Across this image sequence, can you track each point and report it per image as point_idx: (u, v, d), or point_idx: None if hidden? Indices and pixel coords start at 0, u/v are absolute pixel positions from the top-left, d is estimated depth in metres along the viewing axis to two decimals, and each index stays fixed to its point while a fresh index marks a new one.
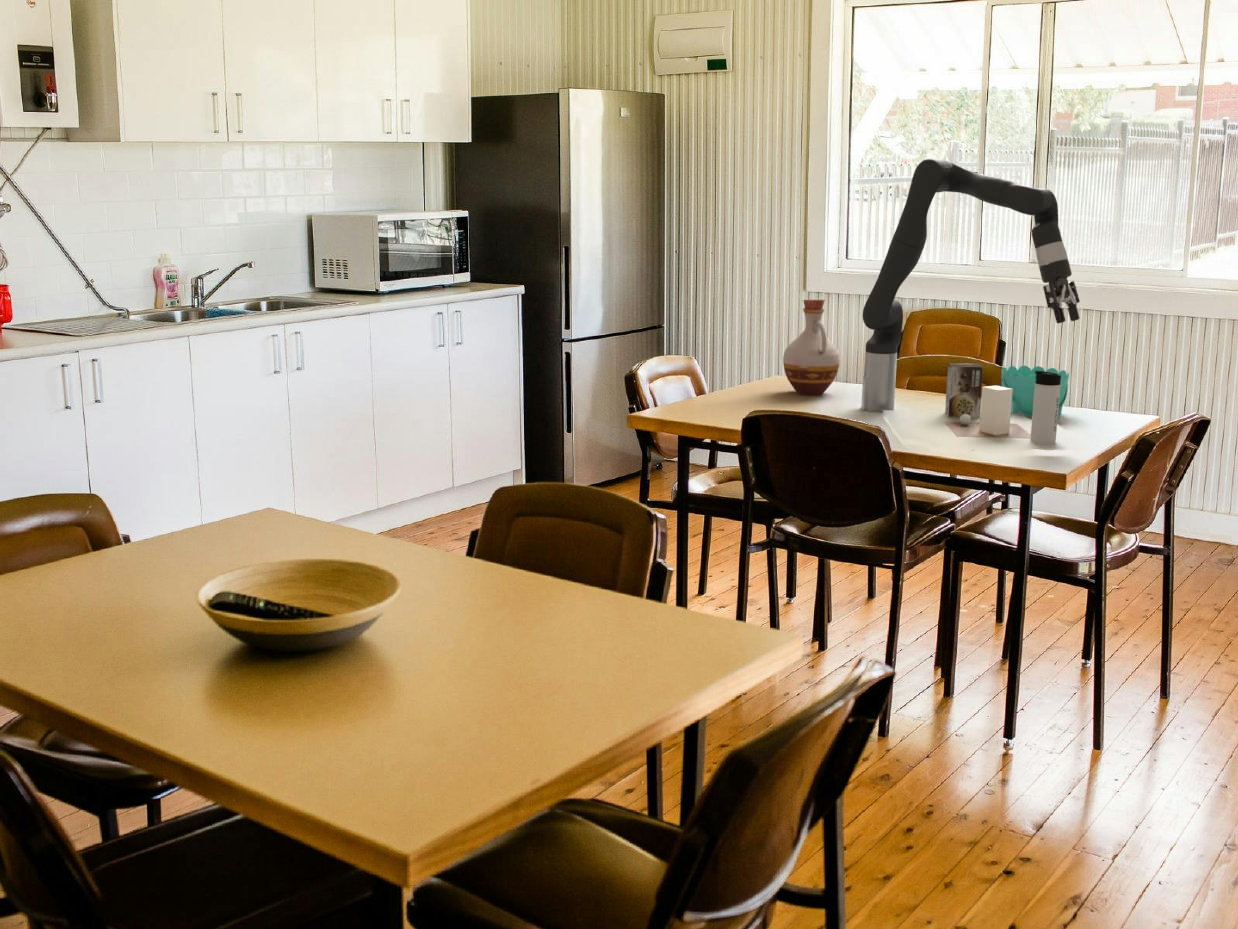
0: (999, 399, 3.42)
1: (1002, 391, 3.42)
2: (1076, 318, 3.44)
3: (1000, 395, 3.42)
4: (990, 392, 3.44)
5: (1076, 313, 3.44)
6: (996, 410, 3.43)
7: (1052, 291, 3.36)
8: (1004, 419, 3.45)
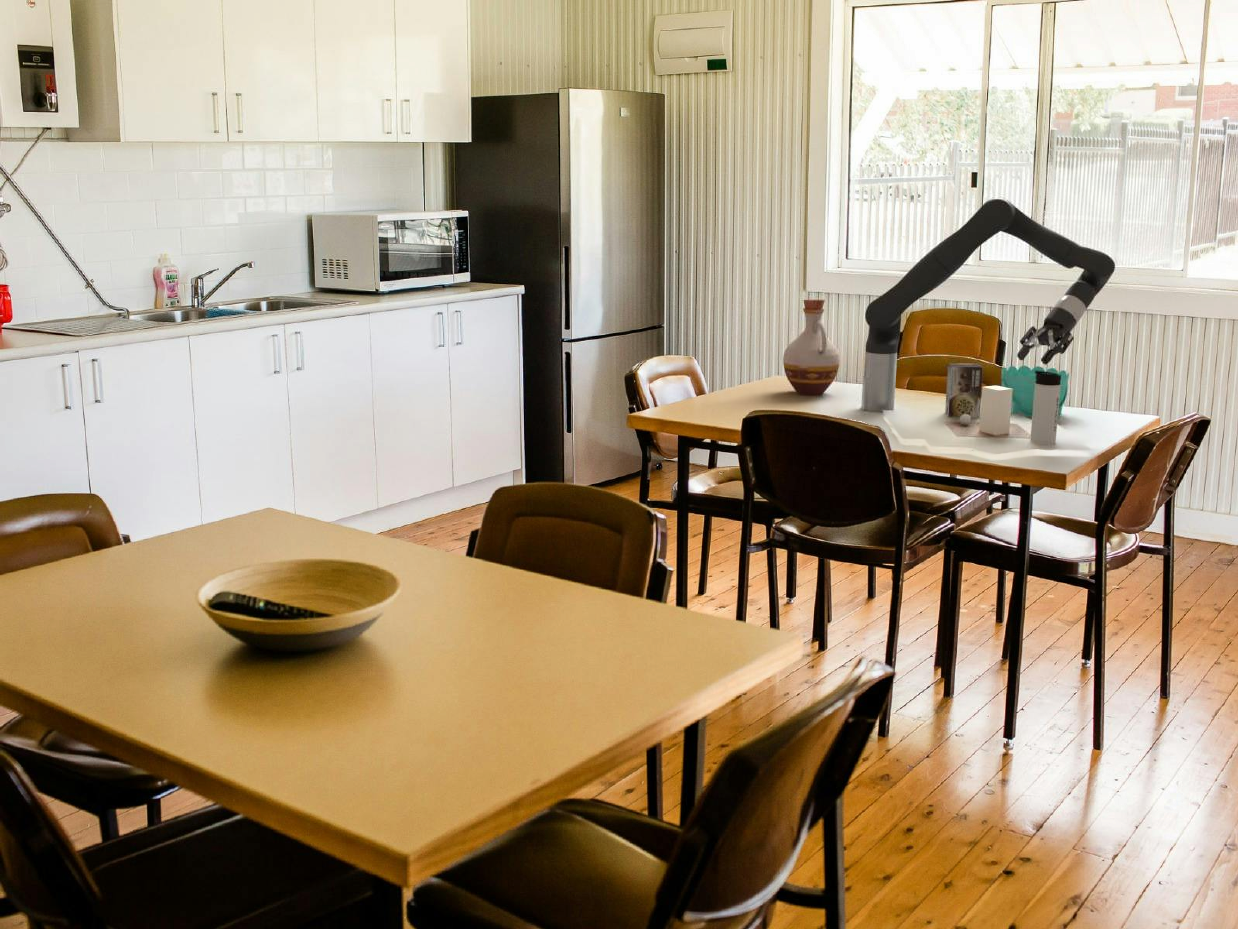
0: (999, 399, 3.42)
1: (1002, 391, 3.42)
2: (1022, 358, 3.53)
3: (1000, 395, 3.42)
4: (990, 392, 3.44)
5: (1025, 356, 3.53)
6: (996, 410, 3.43)
7: (1069, 342, 3.45)
8: (1004, 419, 3.45)
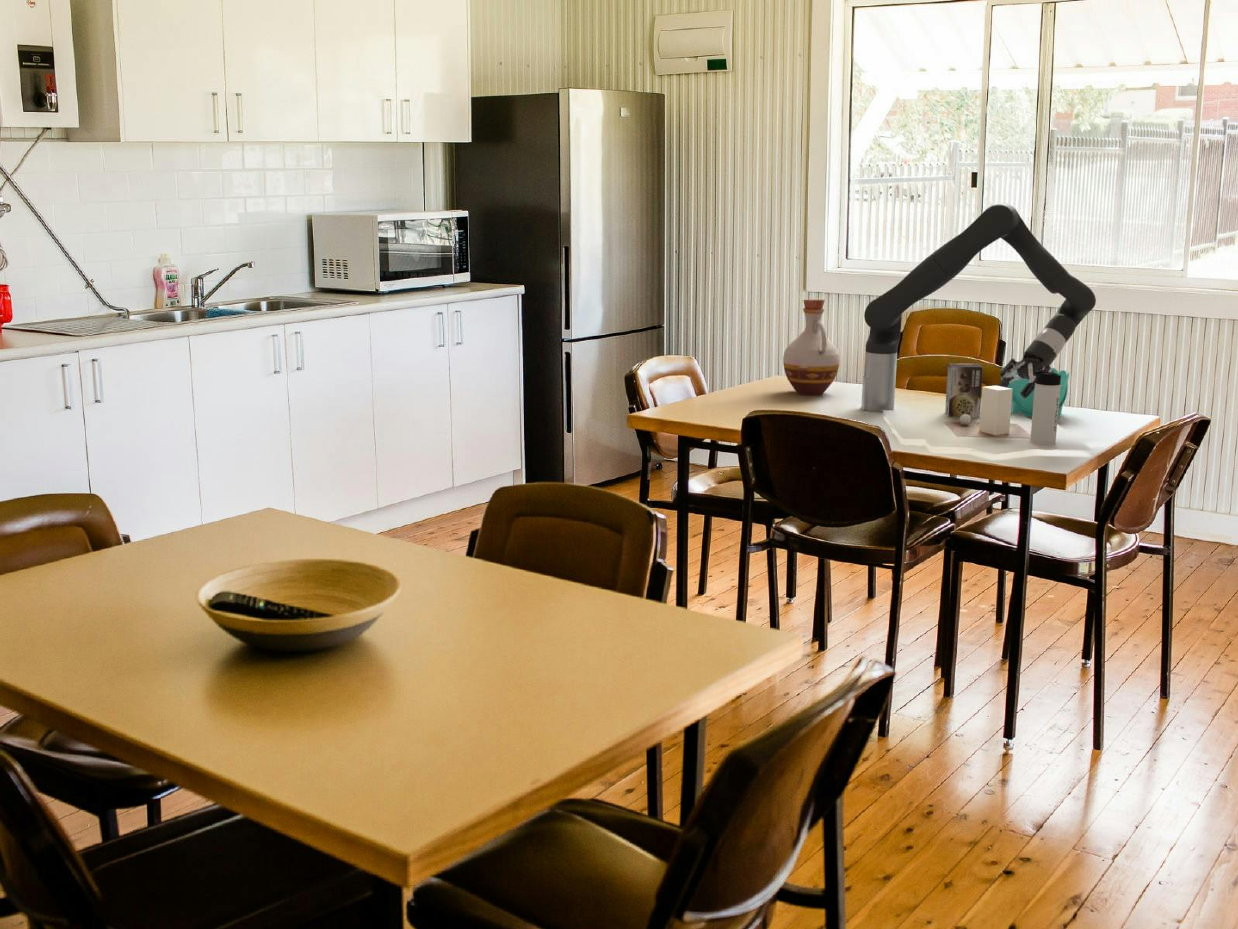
0: (999, 399, 3.42)
1: (1002, 391, 3.42)
2: None
3: (1000, 395, 3.42)
4: (990, 392, 3.44)
5: None
6: (996, 410, 3.43)
7: None
8: (1004, 419, 3.45)
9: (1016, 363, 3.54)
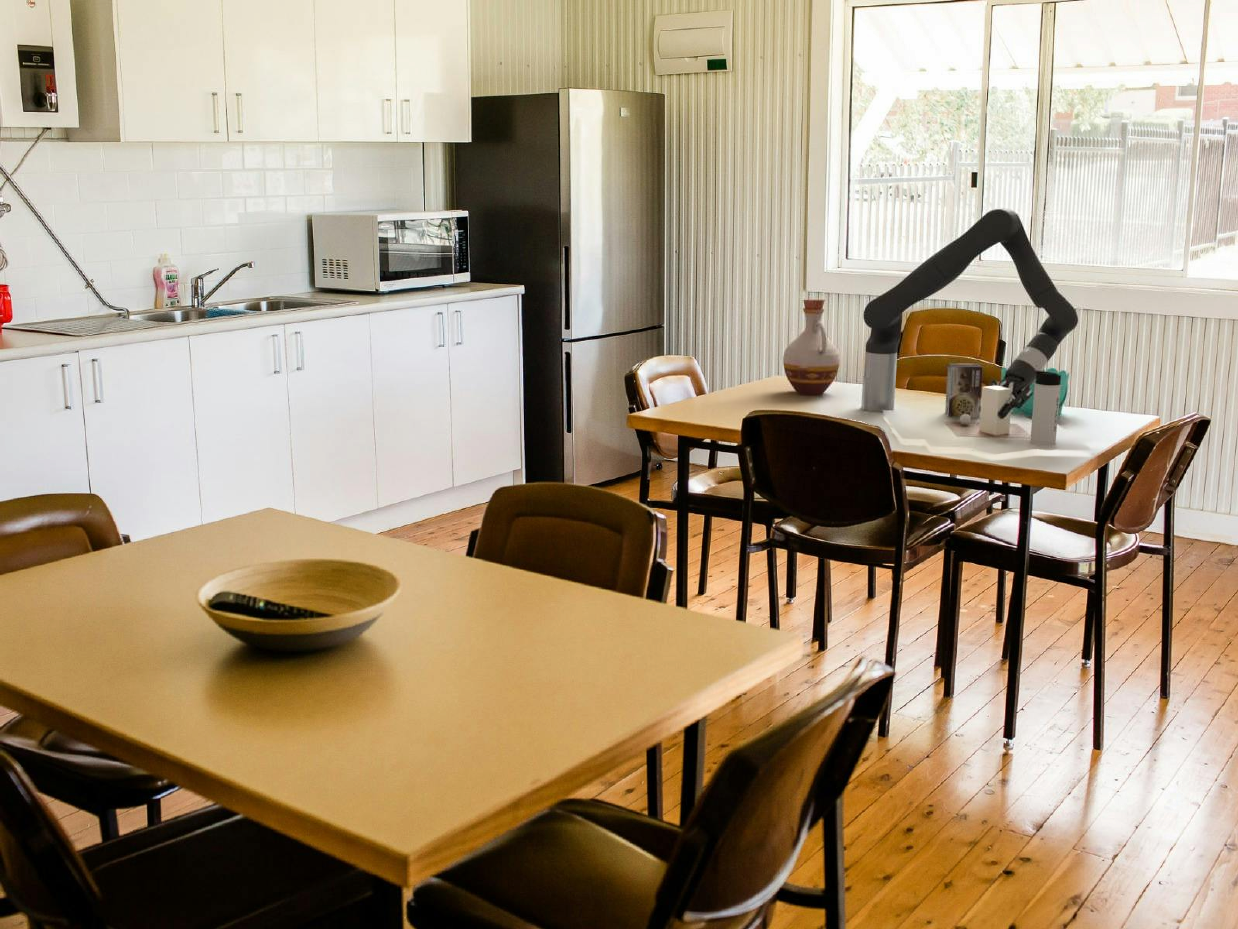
0: (999, 399, 3.42)
1: (1002, 391, 3.42)
2: None
3: (1000, 395, 3.42)
4: (990, 392, 3.44)
5: None
6: (996, 410, 3.43)
7: (1028, 398, 3.42)
8: (1004, 419, 3.45)
9: (997, 383, 3.52)
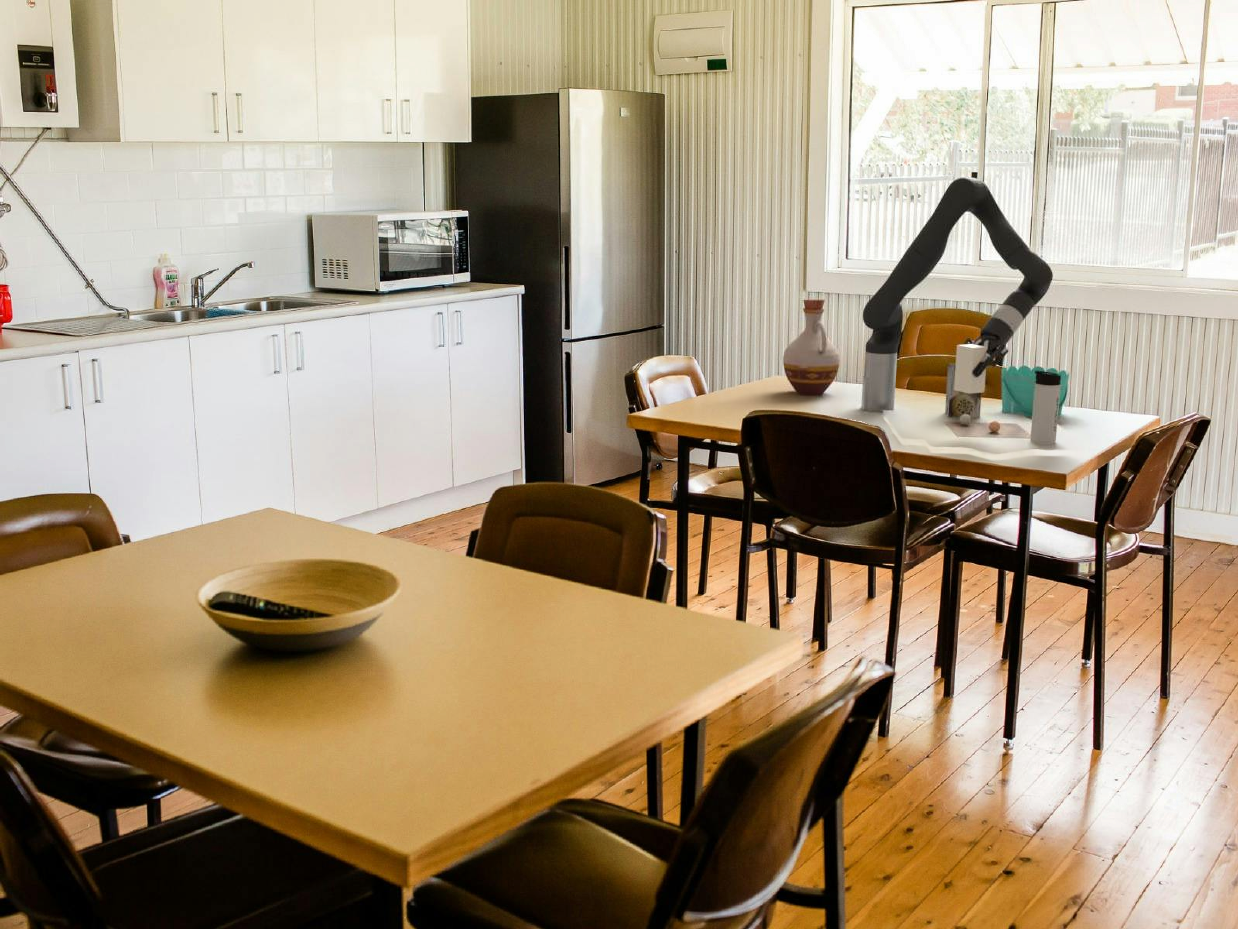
0: (974, 357, 3.37)
1: (977, 349, 3.37)
2: None
3: (974, 353, 3.37)
4: (964, 350, 3.39)
5: None
6: (971, 368, 3.38)
7: (1003, 356, 3.37)
8: (979, 377, 3.40)
9: (972, 342, 3.47)
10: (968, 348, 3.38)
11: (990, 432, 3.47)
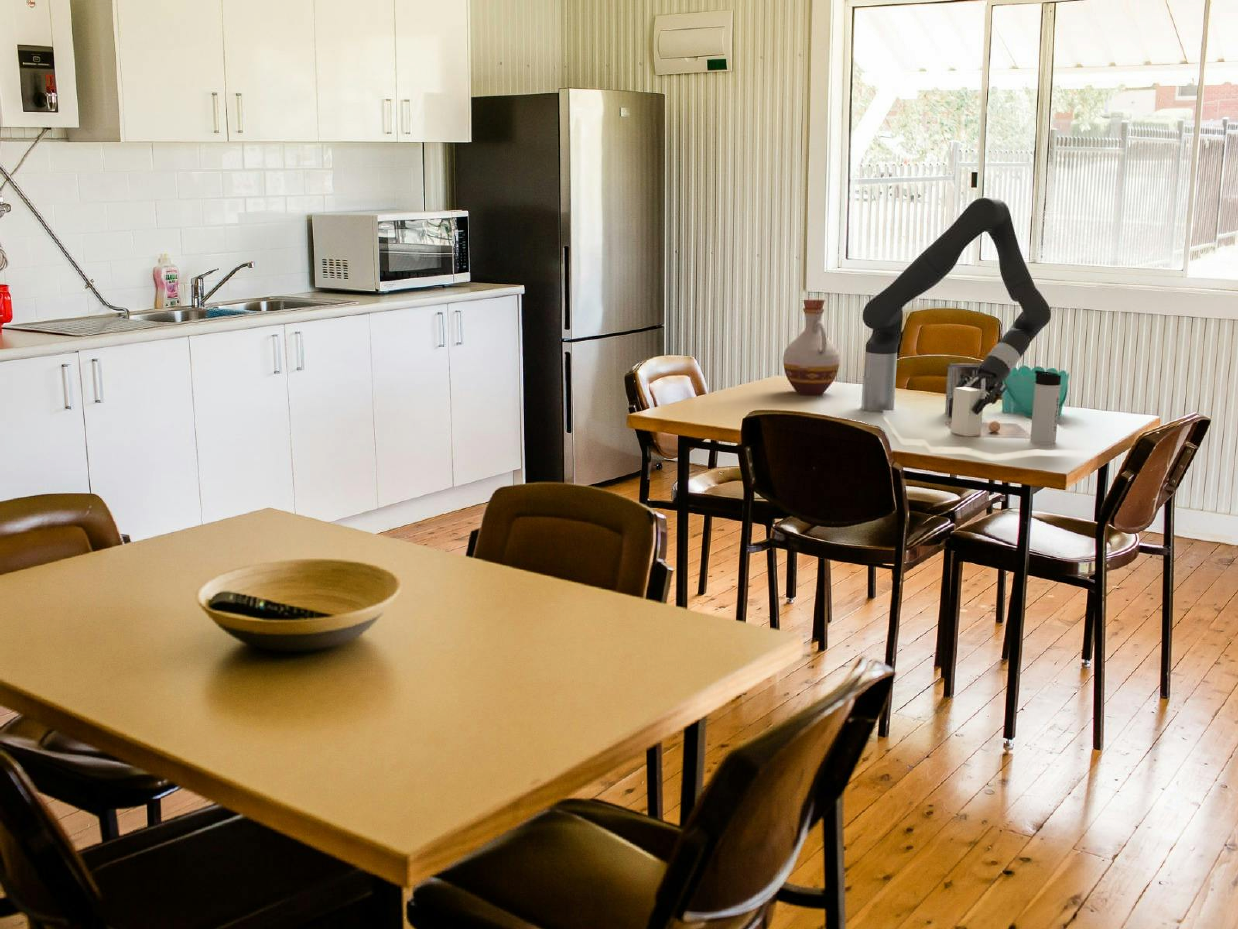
0: (971, 400, 3.40)
1: (974, 392, 3.40)
2: None
3: (971, 396, 3.40)
4: (961, 393, 3.42)
5: None
6: (968, 411, 3.40)
7: (1001, 393, 3.39)
8: (976, 420, 3.42)
9: (970, 378, 3.49)
10: (965, 391, 3.41)
11: (990, 432, 3.47)
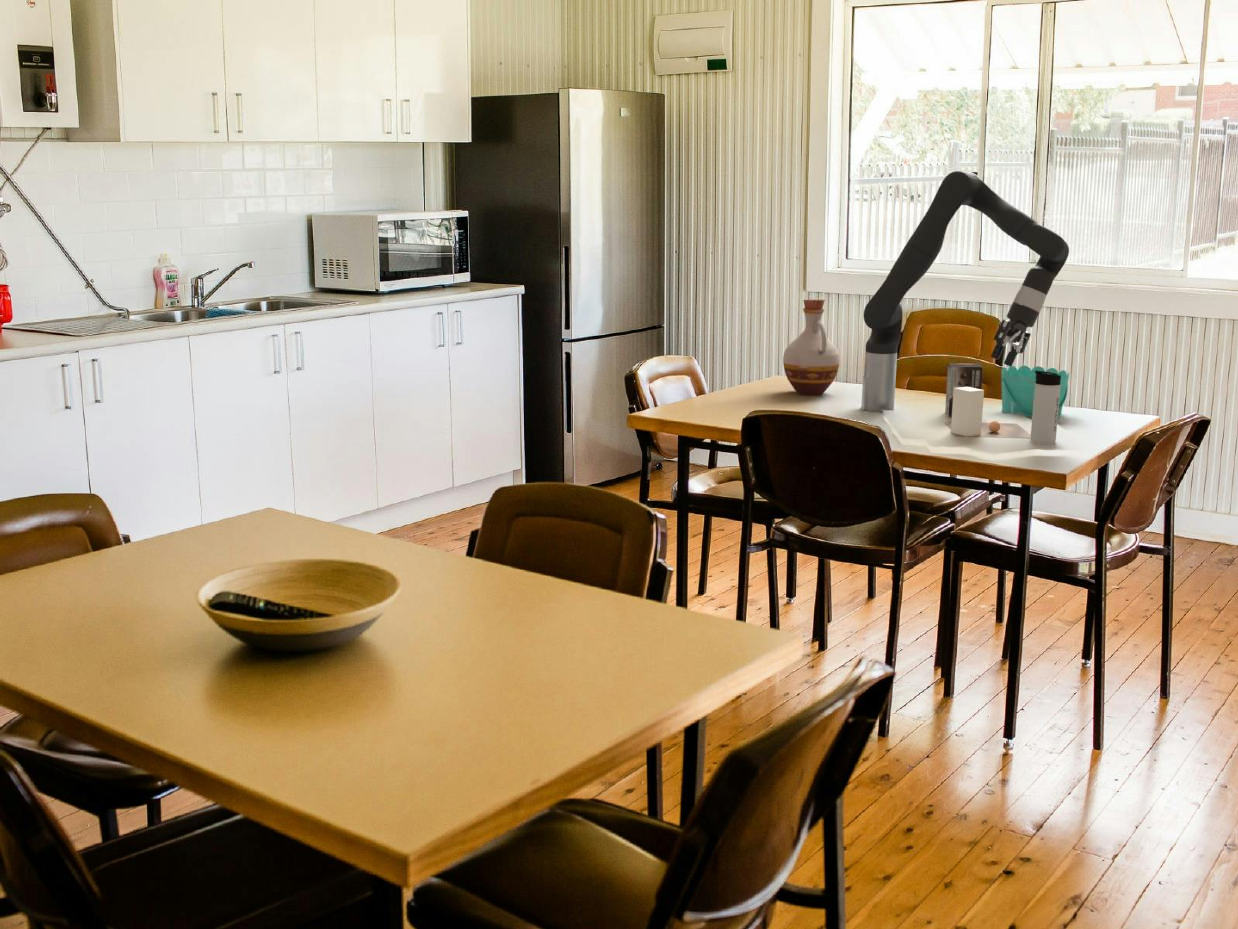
0: (970, 400, 3.40)
1: (973, 392, 3.40)
2: (1009, 364, 3.54)
3: (971, 397, 3.40)
4: (961, 393, 3.42)
5: (1012, 360, 3.53)
6: (967, 411, 3.40)
7: (1006, 328, 3.44)
8: (976, 420, 3.42)
9: None
10: (965, 391, 3.41)
11: (990, 432, 3.47)
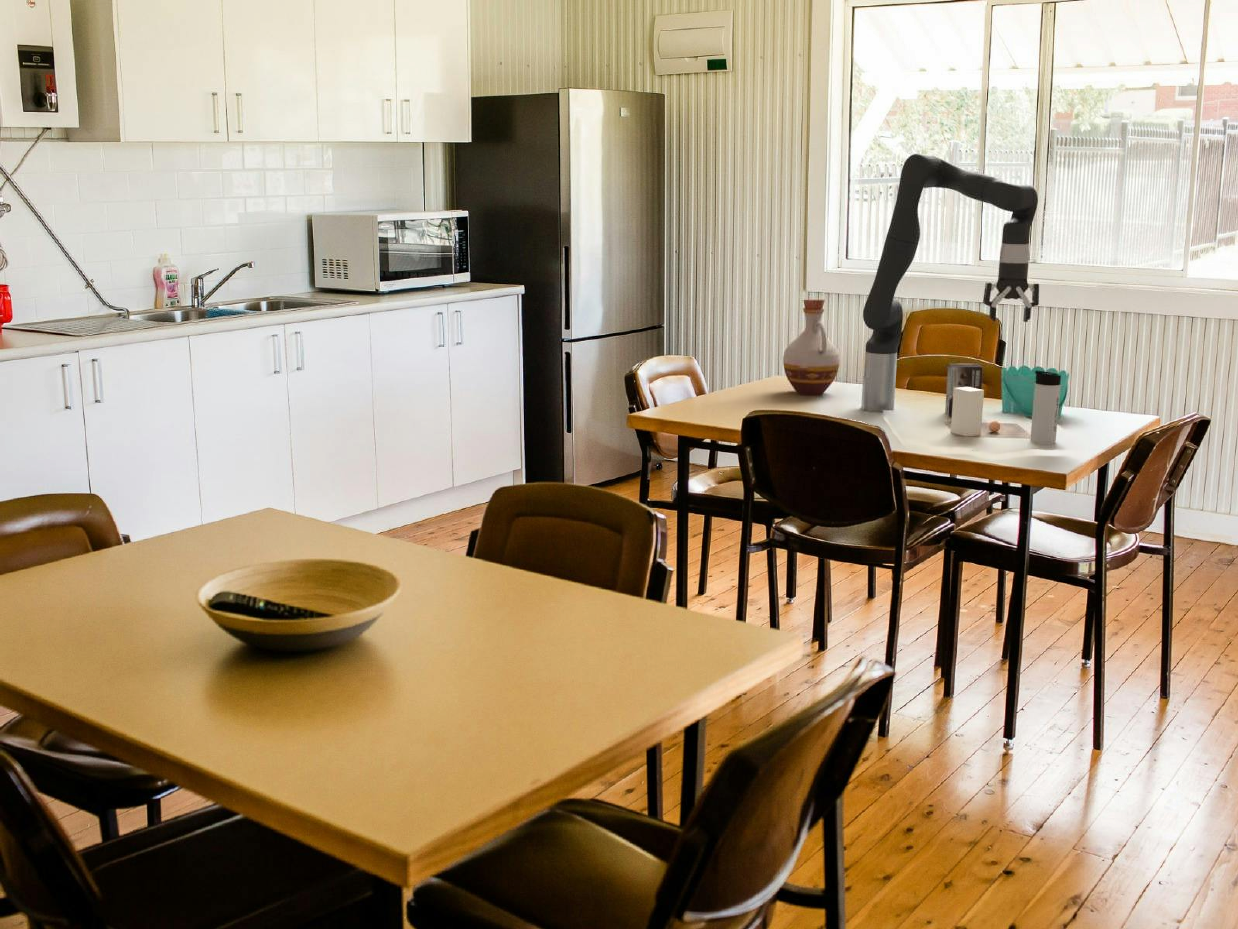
0: (970, 400, 3.40)
1: (973, 392, 3.40)
2: (1024, 320, 3.50)
3: (971, 397, 3.40)
4: (961, 393, 3.42)
5: (1025, 315, 3.49)
6: (967, 411, 3.40)
7: (986, 290, 3.49)
8: (976, 420, 3.42)
9: None
10: (965, 391, 3.41)
11: (990, 432, 3.47)
